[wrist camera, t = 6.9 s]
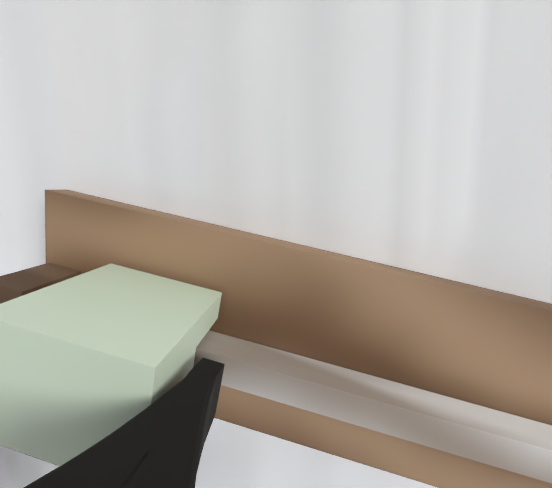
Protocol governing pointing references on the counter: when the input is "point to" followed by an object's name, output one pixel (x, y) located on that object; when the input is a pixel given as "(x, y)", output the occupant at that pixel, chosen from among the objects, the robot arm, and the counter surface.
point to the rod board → (339, 344)
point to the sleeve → (94, 356)
